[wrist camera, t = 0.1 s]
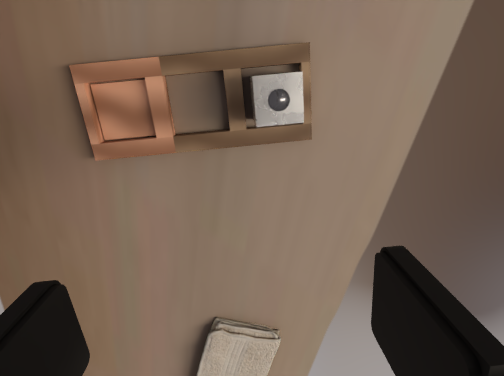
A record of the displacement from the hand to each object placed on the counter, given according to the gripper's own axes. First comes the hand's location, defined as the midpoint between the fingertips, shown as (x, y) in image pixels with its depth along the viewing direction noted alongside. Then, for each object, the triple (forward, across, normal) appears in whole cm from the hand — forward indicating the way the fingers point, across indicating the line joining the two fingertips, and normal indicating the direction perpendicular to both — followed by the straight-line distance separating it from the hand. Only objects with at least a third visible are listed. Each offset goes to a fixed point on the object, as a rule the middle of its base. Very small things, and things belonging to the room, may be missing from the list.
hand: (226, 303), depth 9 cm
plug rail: (+31, +4, -4) cm, 32 cm away
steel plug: (+31, -5, -4) cm, 32 cm away
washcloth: (+32, +4, +39) cm, 50 cm away
